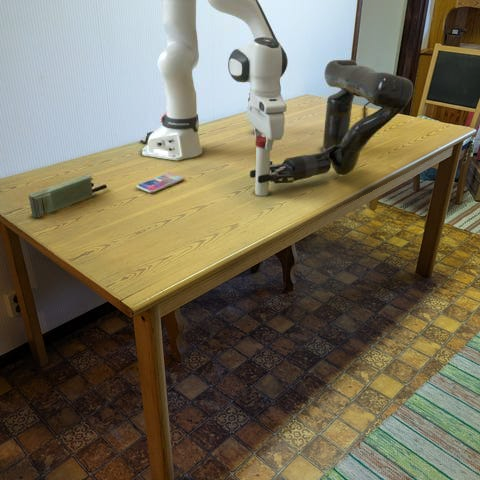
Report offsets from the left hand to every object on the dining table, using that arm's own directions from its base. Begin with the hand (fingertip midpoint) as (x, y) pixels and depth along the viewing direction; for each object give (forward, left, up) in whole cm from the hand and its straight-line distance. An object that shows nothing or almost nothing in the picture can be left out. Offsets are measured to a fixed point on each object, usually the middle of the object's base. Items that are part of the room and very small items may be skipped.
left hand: (263, 145), depth 152 cm
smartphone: (-33, 0, -15) cm, 37 cm away
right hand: (-2, -2, -10) cm, 10 cm away
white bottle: (0, 0, -15) cm, 15 cm away
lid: (0, 0, +2) cm, 2 cm away
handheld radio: (-54, -19, -15) cm, 60 cm away
